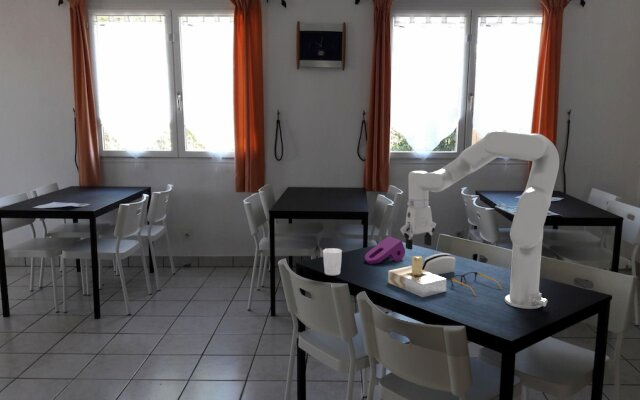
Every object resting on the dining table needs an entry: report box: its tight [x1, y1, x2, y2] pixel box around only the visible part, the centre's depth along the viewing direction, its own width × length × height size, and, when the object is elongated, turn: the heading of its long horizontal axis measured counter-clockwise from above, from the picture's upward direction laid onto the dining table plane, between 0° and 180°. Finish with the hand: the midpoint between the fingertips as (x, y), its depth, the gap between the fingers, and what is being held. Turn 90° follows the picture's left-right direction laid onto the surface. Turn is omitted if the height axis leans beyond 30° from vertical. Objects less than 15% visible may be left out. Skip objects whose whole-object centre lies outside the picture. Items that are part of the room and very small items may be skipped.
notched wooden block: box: [387, 265, 427, 291], centre depth 208 cm, size 10×12×5 cm
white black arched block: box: [422, 252, 457, 276], centre depth 220 cm, size 17×5×10 cm, turn 117°
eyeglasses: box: [450, 271, 503, 297], centre depth 203 cm, size 14×14×4 cm
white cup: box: [322, 247, 343, 276], centre depth 222 cm, size 8×8×10 cm
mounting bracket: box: [364, 236, 406, 265], centre depth 241 cm, size 10×8×18 cm
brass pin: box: [411, 255, 423, 278], centre depth 203 cm, size 4×4×12 cm
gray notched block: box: [405, 272, 447, 298], centre depth 200 cm, size 10×12×5 cm
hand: (418, 247), depth 201 cm, fingers open, 9 cm apart
